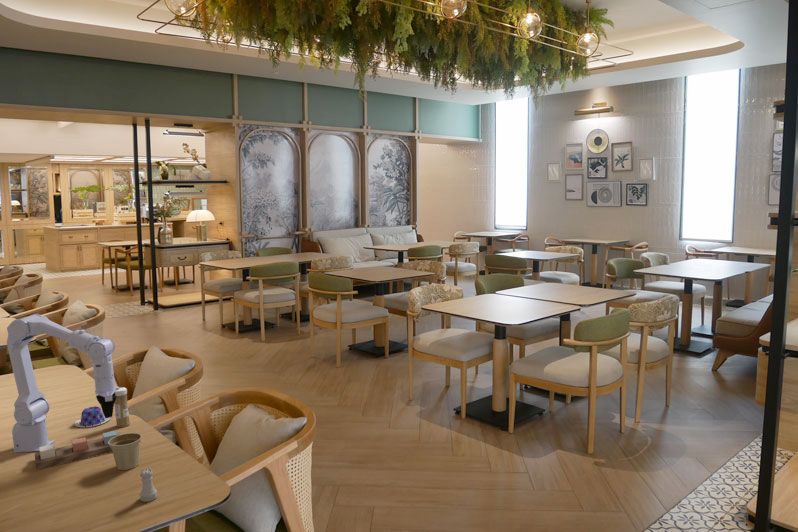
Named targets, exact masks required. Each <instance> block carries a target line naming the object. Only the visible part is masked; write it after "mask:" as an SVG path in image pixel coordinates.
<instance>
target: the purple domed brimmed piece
mask: <svg viewBox="0 0 798 532" xmlns="http://www.w3.org/2000/svg"><path fill="white" fill-rule="evenodd" d="M111 418H112V417H110V418H105V416H104V414H103V411H102V408H101V406H97V405H95V406H89V407H86V408H84V409H82V412H81V416H80V419H77V420H76V421H75V422H74V423H73V425H74V426H75V427H77V428H91V427H95V426H99V425H102V424H104V423H107V422H108V421H109V420H111ZM79 421H81V422H80V425H81V426H80V425H79V424H78V423H79ZM100 423H101V424H100ZM96 424H97V425H96ZM92 425H93V426H92ZM85 426H86V427H85Z"/></svg>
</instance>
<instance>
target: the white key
mask: <svg viewBox="0 0 798 532" xmlns="http://www.w3.org/2000/svg"><path fill="white" fill-rule="evenodd" d="M55 447H56V446H55V444H53V443H51V444H50V445H48V446H43V447H39V448H40V451H39V452H40V457H41V460H42V459H47V458H51V457H55V456H56V455H55V449H56V448H55Z"/></svg>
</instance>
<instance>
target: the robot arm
mask: <svg viewBox="0 0 798 532" xmlns="http://www.w3.org/2000/svg"><path fill="white" fill-rule="evenodd" d="M6 330H7V334H8V335H7V339H6V346H7V351H8V354H9V360H10V364H11V368H12V373H13V376H14V381H15V384H16V390H17V393H18V396H17V398H16V400H15V402H14V404H13V406H14V411H13V418H14V420H15V422H16V423H14V424H13V427H12V431H11V433H12V443H13V449H14V450H12V453H26V452H29V453H30V452H40V448H39V447H43V446H48V445H52V444H53V443H54V442H55V440H54V439H49V436H48V435H49V433H48V427H47V417H48V416H47V414H48V413H49V411H50V409H51V408H50V406H51V405H50V403H49V401H48V400H47V398H46V397H45V396H46V395H45V393H44V392H42V391H40V390H39V389H38V385H37V380H36V375H35V372H34V368H33V363H32V359H31V353H30V350H29V346H28V345H29V343H30V342H31V341H32V340H33V338H34V337H36V336H38V335H42V334H43V335H45V334H46V335H48V336H52V337H55V338H56V339H57V338H58V339H60V340H64V341H66V342H67V343H68V346H69V347H71V348H72V349H73V348H74V349H76V350H78V351H81V352H84V353H86V354H87V355H88V357H89V358H90V359H91V364H92V366H93V367H92V368H93V369H92V370H93V377H94V378H93V379H94V387H95V391H94V394H95V395H96V396H95V398H96V400H97V402H98V403H99V405H100V409H101V411H102V414H103V415H104V416H105V418H110V417H111V418H113V413H114V408H115V405H114V403H115V400H116V398H117V396H116V395H115V391H116V390H119V388H120V386H118V385H116V384H115V382H116V381H115V372H114V363H113V352H114V351H115V348H116V347H115V343H114V341H113V340H112V339H110V338H109V337H107V336H106V337H101V338H100V336H98V335H94V334H91V333H87V332H86V330H85V329H76V330H74V331H73V330H71V329H69V328H67V327H64V326H62V325H61V324H58V323H56V322H54V321H53V320H50V319H49V318H48V316H45V315H41V314H39V313H33V314H30V315H29V316H25V317H21V318H17V319H14V320H13V321H11V323H10V324H9V325H8V326H7V327H6ZM105 418H104V419H105ZM111 418H110V419H111Z"/></svg>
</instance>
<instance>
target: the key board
mask: <svg viewBox="0 0 798 532" xmlns="http://www.w3.org/2000/svg"><path fill="white" fill-rule="evenodd" d="M118 435H121V434H118ZM87 447H88V449H86V450H81V451H77V452H73V447H72V444H70V445H66V446H62V447H57V448H55V455H56V456H55V457H51V458H47V459H42V460H41V457H40V451H37V452H35V453H34V462H35V470H36V471H38V470H42V469H45V468H49V467H55V466H60V465H62V464H63V463H64V464H67V462H68V463H71V461H72V462H76V461H80V459H81V460H84V458H85V459H89V458H93V457H96V455H98V456H102V455H105V453H106V454H109V453H113V452H112V449H111V448H110V445H109V444H108V445H104V442H103V437H102V438H101V437H100V438H97V439H93V440H88V441H87ZM101 454H102V455H101ZM92 456H93V457H92ZM88 457H89V458H88ZM75 460H76V461H75Z"/></svg>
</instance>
